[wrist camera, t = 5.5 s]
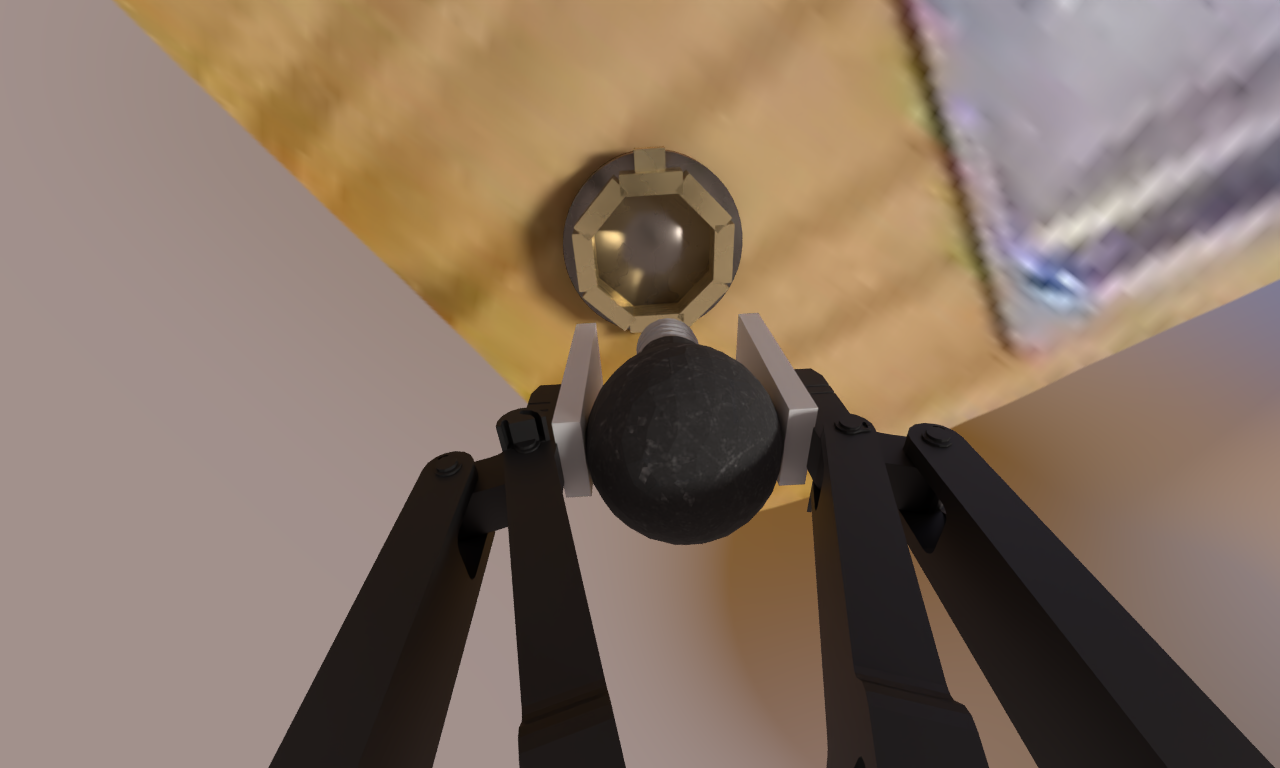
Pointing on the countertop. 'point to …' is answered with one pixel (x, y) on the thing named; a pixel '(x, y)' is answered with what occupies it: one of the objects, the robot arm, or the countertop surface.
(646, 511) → the light bulb
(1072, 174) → the countertop surface
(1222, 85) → the countertop surface
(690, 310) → the octagonal rimmed dish
